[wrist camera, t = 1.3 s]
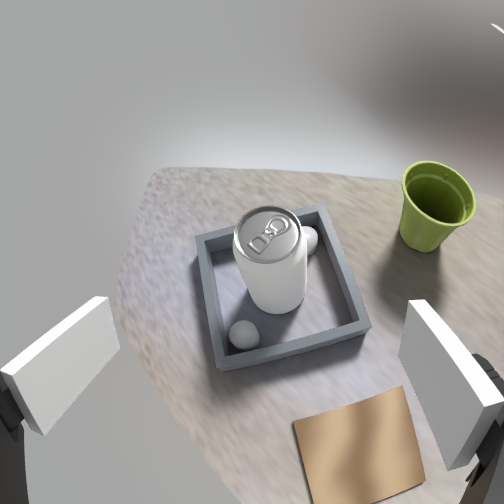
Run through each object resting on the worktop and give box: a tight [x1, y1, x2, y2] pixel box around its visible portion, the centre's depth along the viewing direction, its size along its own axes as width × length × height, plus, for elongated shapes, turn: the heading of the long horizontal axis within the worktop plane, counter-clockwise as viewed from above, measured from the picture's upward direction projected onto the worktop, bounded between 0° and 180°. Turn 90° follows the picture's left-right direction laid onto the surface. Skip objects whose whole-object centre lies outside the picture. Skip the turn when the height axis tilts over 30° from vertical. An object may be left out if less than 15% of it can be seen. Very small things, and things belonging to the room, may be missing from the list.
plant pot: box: [399, 161, 476, 253], centre depth 32 cm, size 9×9×9 cm
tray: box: [195, 203, 372, 372], centre depth 34 cm, size 16×16×3 cm
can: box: [233, 205, 307, 314], centre depth 30 cm, size 6×6×12 cm
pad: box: [293, 386, 426, 504], centre depth 25 cm, size 12×12×1 cm
